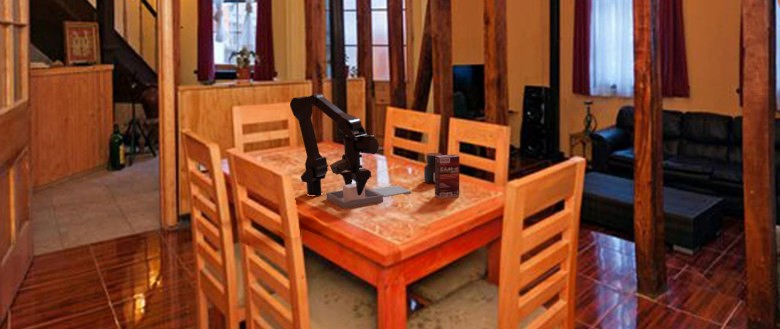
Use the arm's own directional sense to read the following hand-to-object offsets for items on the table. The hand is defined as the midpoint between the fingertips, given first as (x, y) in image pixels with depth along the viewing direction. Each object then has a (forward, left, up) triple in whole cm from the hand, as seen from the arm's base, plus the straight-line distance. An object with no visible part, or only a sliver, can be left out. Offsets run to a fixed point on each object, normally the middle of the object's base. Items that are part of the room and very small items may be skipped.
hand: (353, 192), depth 209 cm
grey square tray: (0, 0, -4) cm, 4 cm away
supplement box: (+14, +33, -4) cm, 36 cm away
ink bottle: (-8, +42, -4) cm, 43 cm away
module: (0, 0, -3) cm, 3 cm away
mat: (-4, +18, -4) cm, 19 cm away
